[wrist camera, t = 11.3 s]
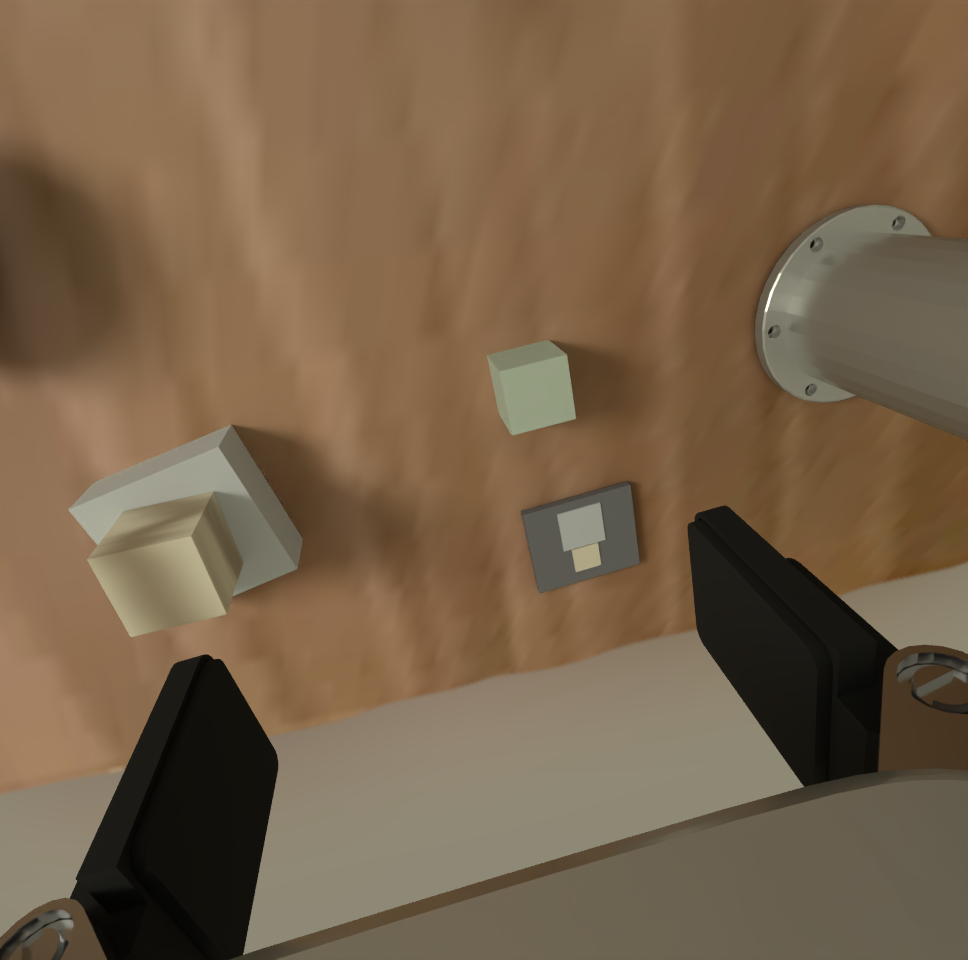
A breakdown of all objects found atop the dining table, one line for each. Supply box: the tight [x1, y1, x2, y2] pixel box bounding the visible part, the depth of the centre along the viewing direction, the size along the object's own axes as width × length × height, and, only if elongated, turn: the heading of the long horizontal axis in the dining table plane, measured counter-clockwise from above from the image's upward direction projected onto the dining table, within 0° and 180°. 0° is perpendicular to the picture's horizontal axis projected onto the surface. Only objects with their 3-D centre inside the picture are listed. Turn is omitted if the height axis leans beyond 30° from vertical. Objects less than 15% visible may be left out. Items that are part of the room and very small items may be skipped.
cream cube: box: [87, 491, 243, 637], centre depth 33 cm, size 5×5×5 cm
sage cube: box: [487, 340, 576, 435], centre depth 36 cm, size 4×4×4 cm
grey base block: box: [68, 425, 303, 596], centre depth 37 cm, size 9×9×4 cm
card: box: [521, 481, 640, 593], centre depth 44 cm, size 8×7×1 cm
